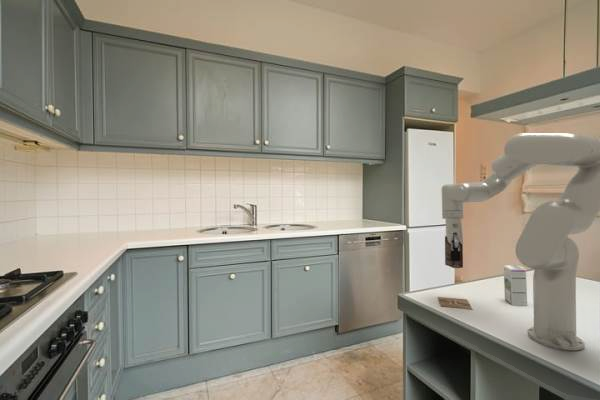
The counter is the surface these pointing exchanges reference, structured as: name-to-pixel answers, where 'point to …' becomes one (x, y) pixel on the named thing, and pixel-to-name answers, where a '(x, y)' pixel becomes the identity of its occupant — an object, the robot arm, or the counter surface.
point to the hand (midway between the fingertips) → (453, 258)
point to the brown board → (454, 303)
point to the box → (448, 255)
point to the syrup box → (515, 285)
